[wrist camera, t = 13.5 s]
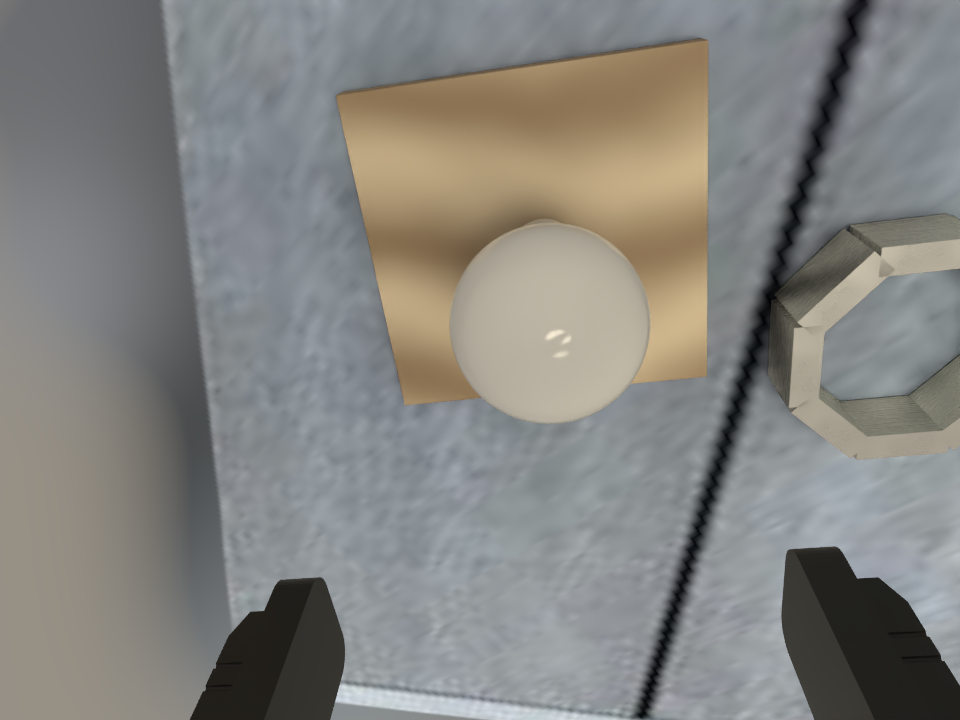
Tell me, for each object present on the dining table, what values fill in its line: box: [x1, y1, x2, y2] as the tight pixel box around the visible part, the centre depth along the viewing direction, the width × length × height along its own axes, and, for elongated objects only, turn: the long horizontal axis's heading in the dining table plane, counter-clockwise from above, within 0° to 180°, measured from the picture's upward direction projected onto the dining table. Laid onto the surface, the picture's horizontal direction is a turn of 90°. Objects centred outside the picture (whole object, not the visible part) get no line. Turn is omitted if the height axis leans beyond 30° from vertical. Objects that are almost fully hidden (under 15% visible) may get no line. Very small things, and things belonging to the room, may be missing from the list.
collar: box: [768, 214, 960, 460], centre depth 30 cm, size 10×10×3 cm
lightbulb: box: [449, 219, 651, 424], centre depth 24 cm, size 6×6×11 cm
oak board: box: [336, 38, 708, 405], centre depth 30 cm, size 14×14×1 cm
